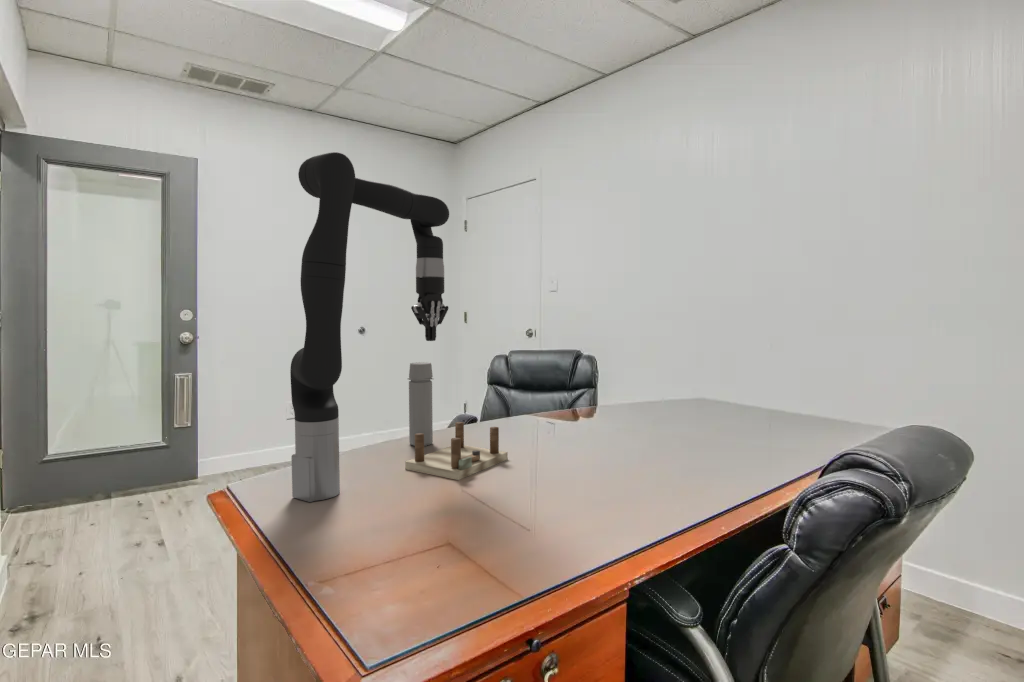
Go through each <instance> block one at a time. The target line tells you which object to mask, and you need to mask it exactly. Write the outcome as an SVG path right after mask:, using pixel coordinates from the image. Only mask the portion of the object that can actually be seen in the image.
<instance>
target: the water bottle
mask: <svg viewBox="0 0 1024 682" xmlns="http://www.w3.org/2000/svg"><path fill="white" fill-rule="evenodd" d="M433 377H434V376H433V367H432V363H431V362H429V361H426V362H425V361H421V362H420V361H419V362H410V363H409V371H408V378H407V380H408V410H409V411H408V413H409V415H408V418H409V419H408V422H409V423H408V425H409V430H408V431H409V445H411V446H414V447H415V434H417V433H423V434H424V447H427V445H428V446H430V445H431V444H432V443H433V440H434V439H433V380H434V378H433Z"/></svg>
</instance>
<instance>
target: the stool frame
mask: <svg viewBox="0 0 1024 682" xmlns="http://www.w3.org/2000/svg"><path fill="white" fill-rule="evenodd" d="M454 423H455V431H454V435H455V437H454V438H461V458H463V457H465V456H468V455H471V454H472V451H474V450H478V451H480V459H479V460H477V461H474V462H472V457H466V458H463V459H461V460H459V468H452V467H451V445H450V446H448V447H444V448H442V449H441V448H440V449H439V450H436V451H432V452H429V453H427V454H425V446H424V434H423V433H417V434H415V446H414V458H412V459H409V460H406V461H404V462H405V467H404V469H405V470H408V471H413V472H418V473H422V474H428V475H431V476H437V477H442V478H446V479H451V480H457V481H460V480H463V479H465V478H467V477H470V476H472V475H474V474H476V473H479V472H481V471H483V470H486V469H488V468H490V467H493V466H495V465H498V464H500V463H503V462H505V461H507V460H508V458H509V457H508V454H509V453H508V451H502V450H500V449H499V447H500V446H499V445H500V444H499V443H500V441H499V437H500V436H499V433H500V431H499V428H500V427H499V426H491V427H489V448H484V447H478V446H471V445H467V444H465V440H464V439H465V427H464V425H465V422H464V421H457V422H454Z"/></svg>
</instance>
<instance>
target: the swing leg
mask: <svg viewBox="0 0 1024 682" xmlns="http://www.w3.org/2000/svg"><path fill="white" fill-rule="evenodd" d="M450 446H451V467H452V468H459V460H461V459H463V458H466V457H472V462H474V461H477V460H479V459H480V451H478V450H474V451H472V454H471V455H468V456H465V457H463V458H461V438H455V437H452V438H450Z"/></svg>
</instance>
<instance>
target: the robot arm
mask: <svg viewBox="0 0 1024 682" xmlns="http://www.w3.org/2000/svg"><path fill="white" fill-rule="evenodd" d="M298 180H299V184H300V186H301V187H302V189H303V190H304V191H305V192H306V193H307V194H308V195H310V196H312V197H314V198H317V199H319V202H318V203H319V205H318V211H317V212H318V214H317V217H316V222H315V224H314V226H313V229H312V231H311V233H310V234H309V237H308V238H307V241H306V244H305V246H304V248H303V250H302V251H303V252H302V257H301V265H300V266H301V267H300V293H301V301H302V304H303V309H304V314H305V315H304V316H305V337H304V342H303V343H304V344H303V347H302V348H300V349H299V350H297V351H296V352H295V354H294V355H293V357H292V359H291V362H290V370H289V371H290V372H289V373H290V391H291V392H290V393H291V405H292V408H293V412H294V439H295V440H294V444H295V446H294V447H295V449H294V451H295V452H294V454H291V490H292V492H291V493H292V498H294V499H297V500H301V501H305V502H308V503H312V502H314V501H322V500H328V499H331V498H334V497H336V496H338V495H340V492H341V480H340V478H341V477H340V475H341V474H340V472H341V471H340V427H339V425H340V423H339V421H340V420H339V405H338V403H337V401H336V398H335V394H334V393H335V392H334V385H335V384H336V383H337V382H338V380H339V378H340V376H341V374H342V369H343V357H342V340H341V339H342V337H341V336H342V335H341V331H342V316H343V307H344V293H345V283H346V271H347V270H346V269H347V248H348V240H349V239H348V237H349V225H350V224H349V223H350V219H351V218H350V217H351V212H352V211H351V210H352V206H353V205H352V204H354V205H357V206H362V207H366V208H368V209H372V210H375V211H379V212H381V213H385V214H388V215H390V216H393V217H396V218H398V219H403V220H410V225H411V227H412V231H413V236H414V239H415V243H416V262H415V293H416V294H417V295H418V296H417V297H418V298H417V303H416V304H415V305H412V306H411V310H412V313H413V315H414V316H415V318H416V321H417V322H418V324H419V325H421V326H423V327H424V330H425V331H424V334H425V335H424V336H425V340H426V341H427V342H434V341H436V339H437V327H438V325H442V323H443V321H444V319H445V317H446V315H447V314H448V311H449V306H448V305H445V304H444V300H443V297H442V296H443V294H444V293H445V265H444V242H443V239H442V237H439V236H436V235H434V233H433V230H432V228H437V227H441V226H443V225H445V224H446V223H447V222H448V220H449V218H450V210H449V207H448V205H447V204H446V203H445V202H444V201H443V200H441V199H439V198H437V197H435V196H430V195H425V194H421V193H420V194H418V193H414V192H411V191H409V190H407V189H404V188H401V187H398V186H397V185H394V184H390V183H386V182H380V181H374V180H367V179H364V178H363V179H362V178H359V177H356V173H355V167H354V165H353V163H352V161H351V160H350V158H349V157H348V156H346V154H344V153H342V152H340V151H339V152H338V151H333V152H327V153H322V154H317V155H314V156H312V157H309V158H307V159H305V160H304V161H303V162H302V164H301V165H300V166H299V169H298Z"/></svg>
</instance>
